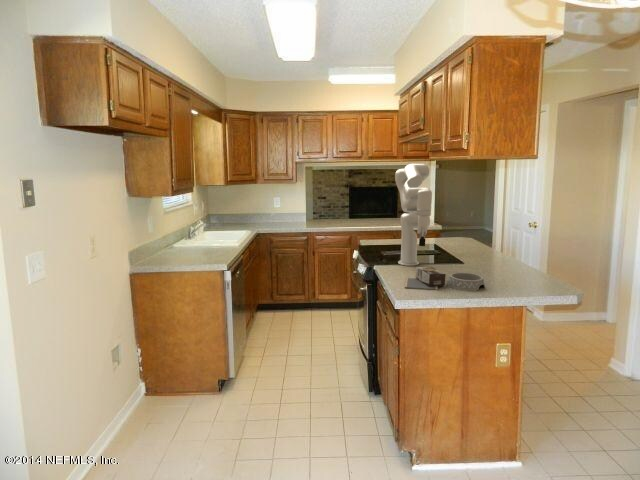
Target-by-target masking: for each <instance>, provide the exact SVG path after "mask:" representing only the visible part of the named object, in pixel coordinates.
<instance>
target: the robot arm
mask: <svg viewBox="0 0 640 480" xmlns="http://www.w3.org/2000/svg"><path fill="white" fill-rule="evenodd" d="M429 175H430V168H429V166H428V164H426V163H409V164H407V165H406V166H405V167H404V168H398V169H397V170H396V172H395V174H394V179H395V185H396V187H397V189H398V192H399V197H400V198H399V199H400V205H401V210H402V212H403V213H402V214H401V215H400V227H401V229H400V231H401V238H400V239H401V242H400V244H401V245H400V246H401V247H400V259H399V260H398V261H397V263H398V264H399V265H402V266H405V267H406V266H408V267H413V266H418V265H419V264H420V262H419V261H418V258H417V257H418V253H417V252H418V246H419V247H425V246H426V235H427V234H428V233H427V232H428V228H429V226H430V224H431V218H430V217H431V215H432V199H433V191H432V190H431V189H430V188H429V187H420V186H421V185H422V184H423V182H424V181H426V179H428V177H429ZM414 229H417V232H416V231H415V230H414ZM418 235H419V238H418ZM418 239H419V241H418Z"/></svg>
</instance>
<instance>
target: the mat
mask: <svg viewBox="0 0 640 480" xmlns="http://www.w3.org/2000/svg"><path fill="white" fill-rule="evenodd" d="M438 287H439V286H430V287H429V286H428V285H426V284H424V283H423V282H421V281H419V280H418V279H416V277H414V278H412V277H406V278H405V283H404V289H412V290H428V291H439V290H438Z"/></svg>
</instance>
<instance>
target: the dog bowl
mask: <svg viewBox="0 0 640 480" xmlns="http://www.w3.org/2000/svg"><path fill="white" fill-rule="evenodd" d="M483 285H484V286H483ZM447 286H448V287H449V288H451V289H455V290H457V291H464V290H465V292H466V290H467V292H476V291H475V290H478V291H479V289H480V287H481V286H483V287H484V288H485V281H484V277H483V276H482V275H480V274H478V273H477V274H476V273H473V272H461V271H460V272H453V273H451V274H450V275H449V277H448V281H447Z"/></svg>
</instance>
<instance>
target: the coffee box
mask: <svg viewBox="0 0 640 480" xmlns="http://www.w3.org/2000/svg"><path fill="white" fill-rule="evenodd" d="M415 278H416V279H418V280H419V281H421V282H423V283H424V284H426V285H428V286H429V287H430V286H437V287H442V286H443V287H445V285H446V278H447V277H446V273H444V272H443V271H440V270H439V269H436V268H434V267H433V266H420V267H419V266H416V267H415Z"/></svg>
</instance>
